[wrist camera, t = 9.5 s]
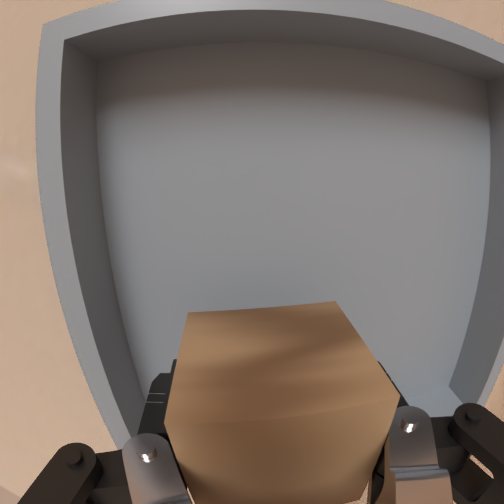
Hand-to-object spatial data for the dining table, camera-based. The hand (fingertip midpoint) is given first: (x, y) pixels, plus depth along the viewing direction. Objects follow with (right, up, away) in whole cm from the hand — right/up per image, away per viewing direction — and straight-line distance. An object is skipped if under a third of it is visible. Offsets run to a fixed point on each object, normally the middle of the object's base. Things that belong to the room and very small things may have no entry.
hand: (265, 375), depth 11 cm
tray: (+3, +4, +3) cm, 6 cm away
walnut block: (0, 0, 0) cm, 0 cm away
